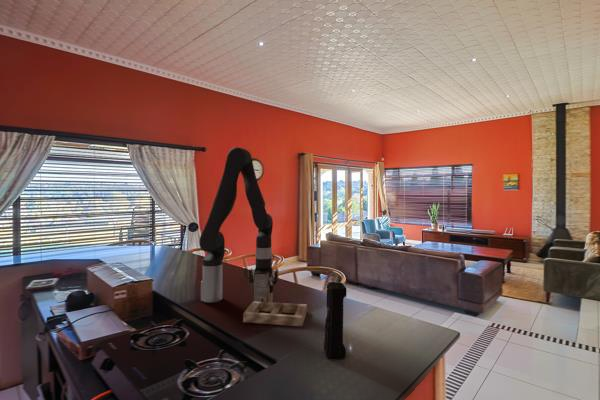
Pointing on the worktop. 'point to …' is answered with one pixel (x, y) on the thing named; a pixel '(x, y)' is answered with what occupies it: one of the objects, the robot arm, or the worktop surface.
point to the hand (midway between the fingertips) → (263, 292)
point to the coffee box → (262, 286)
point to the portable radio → (335, 321)
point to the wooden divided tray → (275, 313)
